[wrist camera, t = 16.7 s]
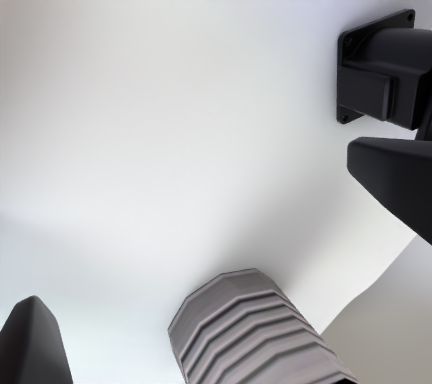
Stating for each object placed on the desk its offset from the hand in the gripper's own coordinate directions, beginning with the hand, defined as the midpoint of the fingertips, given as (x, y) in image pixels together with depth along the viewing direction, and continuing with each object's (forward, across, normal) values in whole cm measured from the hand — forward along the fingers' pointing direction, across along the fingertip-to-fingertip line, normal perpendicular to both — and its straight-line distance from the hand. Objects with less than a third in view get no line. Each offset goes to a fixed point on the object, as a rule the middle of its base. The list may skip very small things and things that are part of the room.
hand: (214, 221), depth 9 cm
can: (+12, -2, +22) cm, 25 cm away
